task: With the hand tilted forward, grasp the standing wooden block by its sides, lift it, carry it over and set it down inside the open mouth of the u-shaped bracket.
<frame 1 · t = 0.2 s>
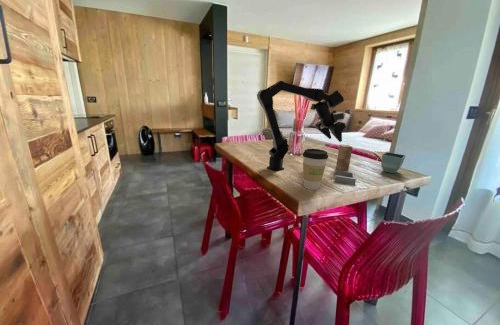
hand: (335, 140, 111), 15 cm above the table, tool tilted 30°, fingers open, 9 cm apart
coffee cup: (311, 187, 89), on the table
flower pot: (389, 172, 111), on the table
wooden block: (341, 170, 111), on the table
u-shaped bracket: (343, 179, 99), on the table
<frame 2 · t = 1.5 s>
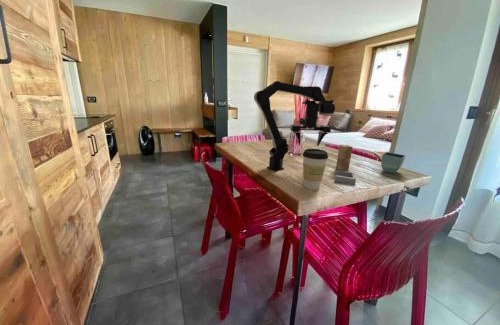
hand: (308, 145, 109), 12 cm above the table, tool pointing down, fingers open, 9 cm apart
nothing on the table moved.
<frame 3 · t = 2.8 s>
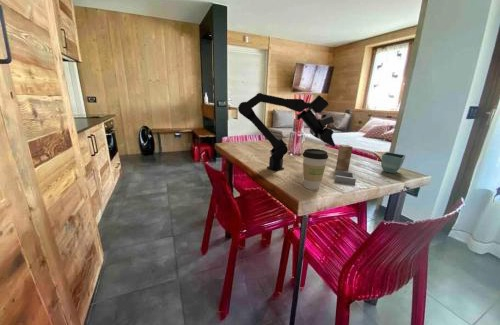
hand: (330, 144, 107), 13 cm above the table, tool tilted 45°, fingers open, 9 cm apart
nothing on the table moved.
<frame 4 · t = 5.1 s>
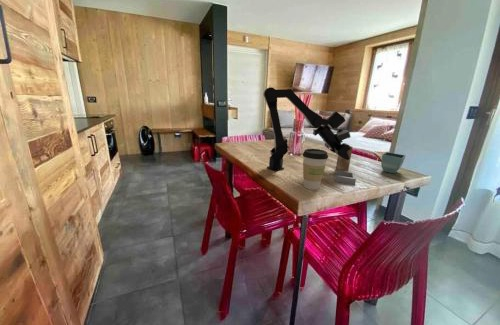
hand: (346, 158, 109), 7 cm above the table, tool tilted 45°, fingers closed on wooden block, 4 cm apart
wooden block: (341, 170, 111), on the table, touching gripper
everything else where it was.
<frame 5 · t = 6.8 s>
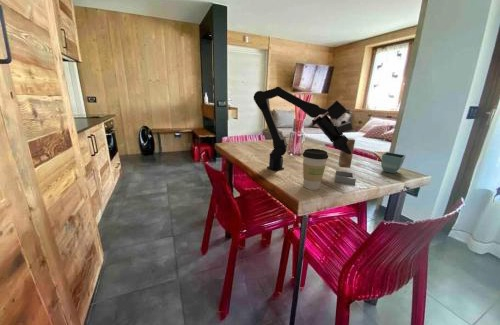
hand: (349, 152, 99), 11 cm above the table, tool tilted 45°, fingers closed on wooden block, 4 cm apart
wooden block: (344, 166, 101), point 5 cm above the table, touching gripper
everything else where it was.
when the fingers open (7 cm above the table, at t = 8.6 s): wooden block stays where it is, on the table.
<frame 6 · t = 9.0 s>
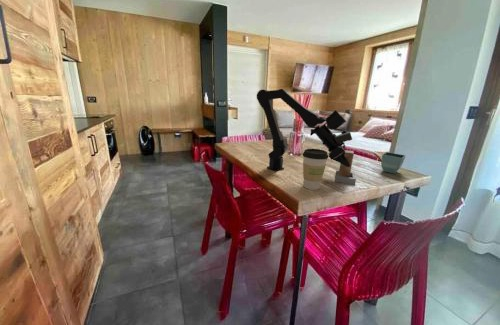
hand: (349, 163, 96), 8 cm above the table, tool tilted 45°, fingers open, 8 cm apart
wooden block: (343, 179, 99), on the table
everything else where it was.
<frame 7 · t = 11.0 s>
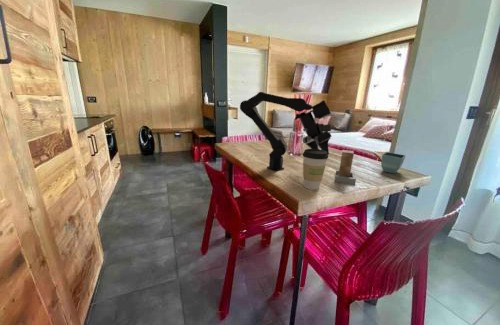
hand: (323, 154, 101), 10 cm above the table, tool tilted 30°, fingers open, 9 cm apart
nothing on the table moved.
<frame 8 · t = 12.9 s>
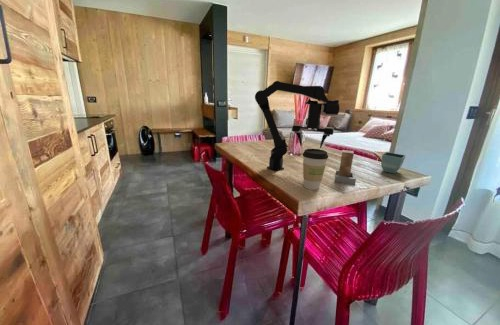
hand: (310, 147, 106), 12 cm above the table, tool pointing down, fingers open, 9 cm apart
nothing on the table moved.
at the end: wooden block 0.1 cm from the u-shaped bracket (horizontally); wooden block tilted 0°; wooden block on the table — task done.
